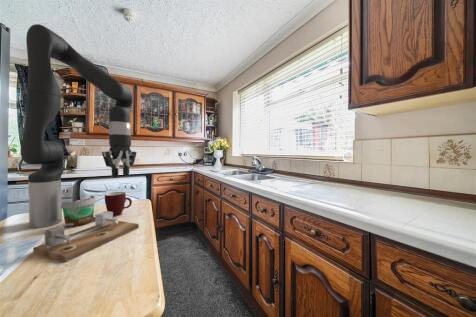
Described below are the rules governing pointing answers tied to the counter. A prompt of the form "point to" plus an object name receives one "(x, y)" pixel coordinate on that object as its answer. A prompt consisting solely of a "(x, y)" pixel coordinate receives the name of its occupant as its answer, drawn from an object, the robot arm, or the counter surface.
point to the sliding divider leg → (105, 219)
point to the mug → (116, 202)
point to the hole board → (80, 240)
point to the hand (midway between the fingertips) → (120, 176)
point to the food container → (78, 212)
